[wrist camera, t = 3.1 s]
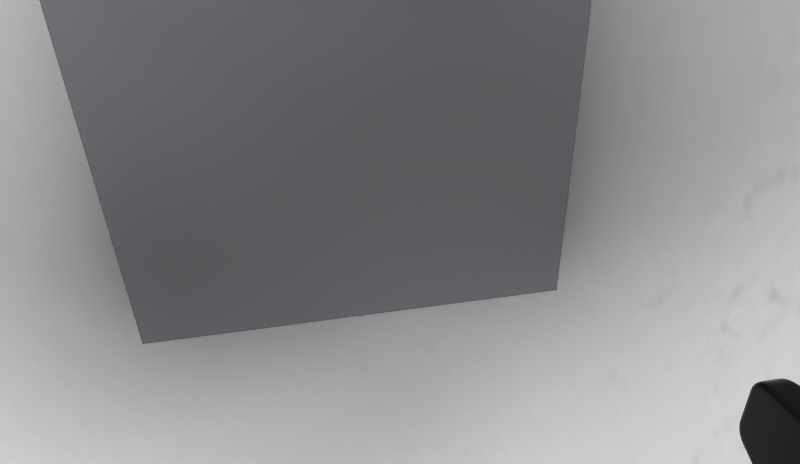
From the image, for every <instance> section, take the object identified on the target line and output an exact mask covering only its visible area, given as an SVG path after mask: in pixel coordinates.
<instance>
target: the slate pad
mask: <svg viewBox="0 0 800 464" xmlns="http://www.w3.org/2000/svg"><path fill="white" fill-rule="evenodd" d="M40 4H41V7H42V10H43V14H44V17H45V20H46V24H47V27H48V30H49V34H50V37H51V40H52V43H53V47H54V50H55V53H56V57H57V60H58V63H59V67H60V70H61V73H62V77H63V80H64V83H65V87H66V90H67V93H68V97H69V100H70V103H71V107H72V110H73V113H74V117H75V120H76V123H77V127H78V130H79V133H80V137H81V140H82V143H83V147H84V150H85V153H86V157H87V160H88V163H89V167H90V170H91V173H92V177H93V180H94V183H95V187H96V190H97V193H98V197H99V200H100V203H101V206H102V210H103V213H104V216H105V220H106V223H107V226H108V230H109V233H110V236H111V240H112V243H113V246H114V250H115V253H116V256H117V260H118V263H119V266H120V270H121V273H122V276H123V280H124V283H125V286H126V290H127V293H128V296H129V300H130V303H131V306H132V310H133V313H134V316H135V320H136V323H137V326H138V330H139V333H140V336H141V340H142V343H143V344H146V343H154V342H161V341H169V340H177V339H184V338H192V337H200V336H207V335H215V334H223V333H230V332H238V331H246V330H253V329H261V328H269V327H276V326H284V325H292V324H299V323H307V322H315V321H322V320H330V319H338V318H345V317H353V316H361V315H368V314H376V313H384V312H391V311H399V310H407V309H414V308H422V307H430V306H437V305H445V304H453V303H460V302H468V301H476V300H483V299H491V298H499V297H506V296H514V295H521V294H529V293H537V292H544V291H552V290H557V282H558V273H559V265H560V257H561V248H562V240H563V232H564V224H565V215H566V207H567V199H568V190H569V182H570V174H571V166H572V157H573V149H574V141H575V132H576V124H577V116H578V107H579V99H580V91H581V83H582V74H583V66H584V58H585V49H586V41H587V33H588V25H589V16H590V8H591V0H40Z"/></svg>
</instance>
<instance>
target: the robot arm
mask: <svg viewBox="0 0 800 464" xmlns="http://www.w3.org/2000/svg"><path fill="white" fill-rule="evenodd" d="M739 429H740V436H741V439H742V442H743V444H744V447H745V449H746V451H747V453H748V455H749V457H750V460H751V462H752V464H800V386H799V385H798V384H796V383H794V382H792V381H790V380H787V379H774V380H768V381H761V382H758V383H756V384H755V385H754V386H753V387H752V389H751V391H750V394H749V397H748V400H747V403H746V406H745V409H744V412H743V414H742V417H741V420H740V428H739Z"/></svg>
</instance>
